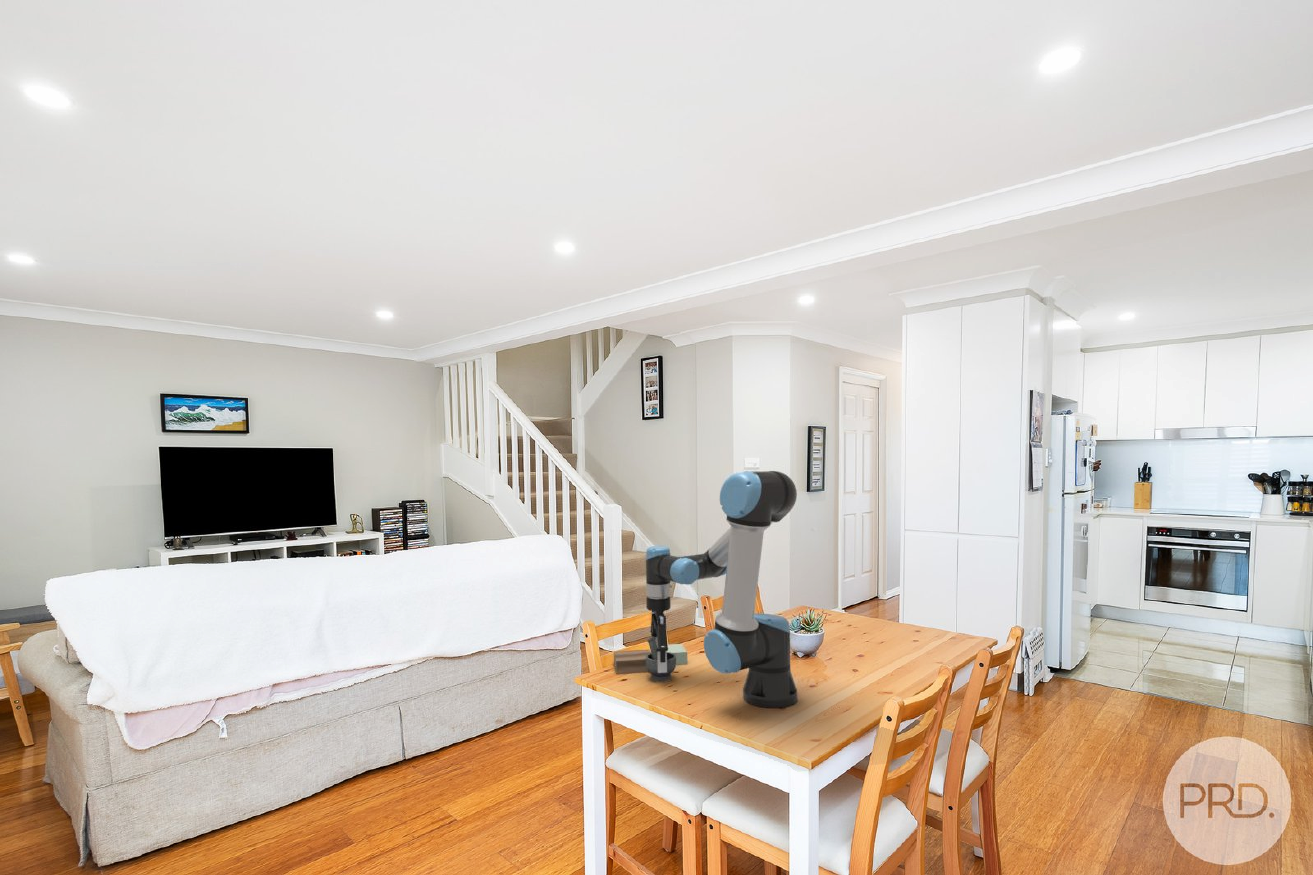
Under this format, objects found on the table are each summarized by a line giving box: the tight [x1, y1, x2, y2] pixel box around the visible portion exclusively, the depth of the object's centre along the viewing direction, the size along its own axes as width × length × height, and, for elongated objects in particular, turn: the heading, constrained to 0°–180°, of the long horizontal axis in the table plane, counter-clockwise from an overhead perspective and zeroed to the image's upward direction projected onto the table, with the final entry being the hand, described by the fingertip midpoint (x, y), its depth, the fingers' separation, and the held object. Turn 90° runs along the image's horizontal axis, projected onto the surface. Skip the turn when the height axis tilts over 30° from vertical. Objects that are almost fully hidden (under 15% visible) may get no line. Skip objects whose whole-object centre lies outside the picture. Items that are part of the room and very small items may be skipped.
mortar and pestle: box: [646, 636, 677, 683], centre depth 200 cm, size 11×9×12 cm
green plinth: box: [661, 643, 688, 666], centre depth 218 cm, size 10×10×4 cm
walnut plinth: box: [613, 649, 651, 675], centre depth 211 cm, size 11×12×4 cm
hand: (659, 665), depth 200 cm, fingers open, 13 cm apart
